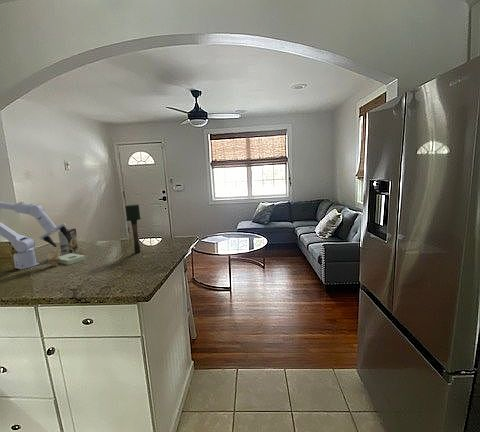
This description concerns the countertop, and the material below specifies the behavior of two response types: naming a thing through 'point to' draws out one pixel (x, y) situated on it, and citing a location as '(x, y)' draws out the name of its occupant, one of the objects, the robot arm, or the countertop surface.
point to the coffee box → (68, 242)
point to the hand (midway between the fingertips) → (62, 242)
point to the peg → (53, 258)
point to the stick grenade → (134, 223)
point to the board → (71, 258)
